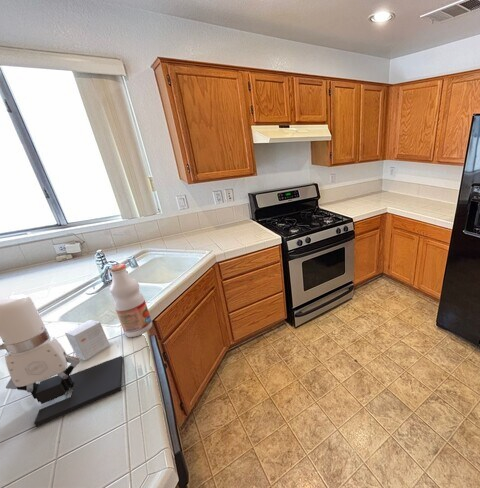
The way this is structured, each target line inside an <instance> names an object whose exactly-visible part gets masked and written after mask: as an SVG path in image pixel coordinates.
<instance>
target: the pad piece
mask: <svg viewBox="0 0 480 488" xmlns="http://www.w3.org/2000/svg"><path fill="white" fill-rule="evenodd" d="M61 379H62V378H61V377H60V376H59V375H54V376H51V377H49V378H46V379H43V380H41V381H39V387H38V389H37V391H36V393H35V394H36V395H37V397H38V399H39V401H40V402H39V403H40V405H43V404H45V403H48V402H51V401H53V400H56V399H59V398H61V397H63V396H66V395H67V392H68V391H66V390H65V388H64V386H63V384H62V382H61Z"/></svg>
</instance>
